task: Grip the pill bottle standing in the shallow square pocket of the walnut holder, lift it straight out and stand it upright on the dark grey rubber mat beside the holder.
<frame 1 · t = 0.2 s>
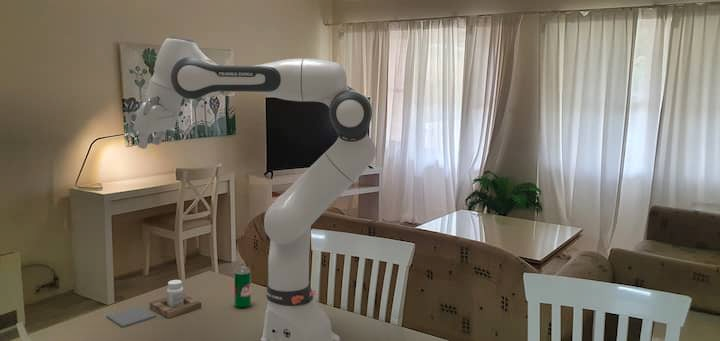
hand: (149, 145, 145), 52 cm above the table, tool tilted 20°, fingers open, 8 cm apart
walnut holder: (175, 308, 168), on the table
soda can: (242, 306, 171), on the table
pill bottle: (175, 308, 168), resting in walnut holder
grey mat: (131, 317, 160), on the table
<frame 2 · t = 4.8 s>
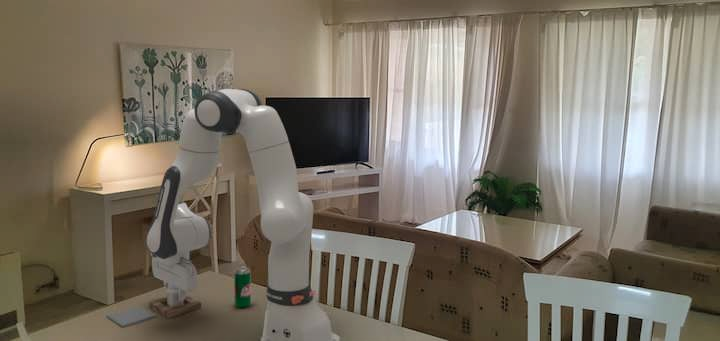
hand: (175, 297, 167), 3 cm above the table, tool pointing down, fingers closed on pill bottle, 5 cm apart
pill bottle: (175, 308, 168), resting in walnut holder, touching gripper
everything else where it was.
when the fingers open (4 cm above the table, at t = 12.3 s): pill bottle stays where it is, resting on grey mat.
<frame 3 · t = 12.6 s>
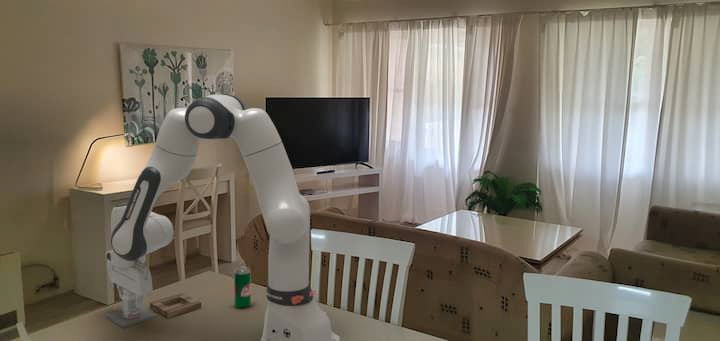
hand: (131, 302, 159), 5 cm above the table, tool pointing down, fingers open, 8 cm apart
pill bottle: (131, 316, 160), resting on grey mat
everything else where it was.
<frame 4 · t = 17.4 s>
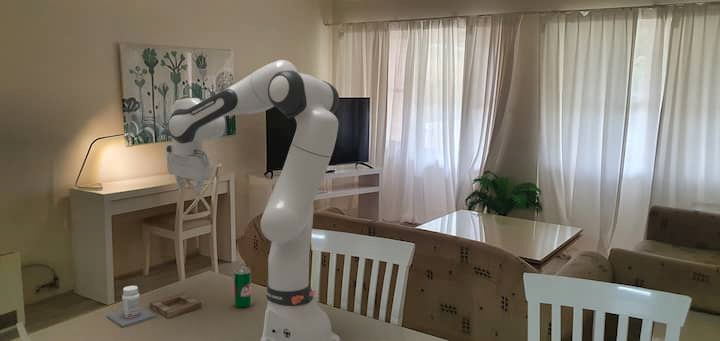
hand: (189, 191, 176), 34 cm above the table, tool pointing down, fingers open, 8 cm apart
nothing on the table moved.
at the end: pill bottle inside the target area (0.1 cm from its centre), resting on grey mat; pill bottle tilted 0°; the gripper is holding nothing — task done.
